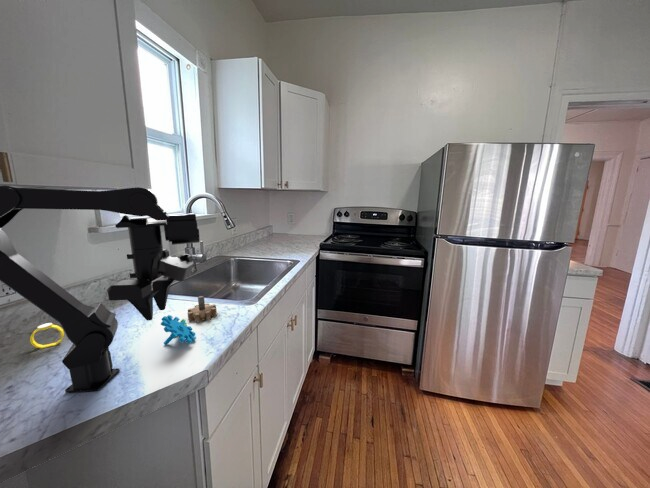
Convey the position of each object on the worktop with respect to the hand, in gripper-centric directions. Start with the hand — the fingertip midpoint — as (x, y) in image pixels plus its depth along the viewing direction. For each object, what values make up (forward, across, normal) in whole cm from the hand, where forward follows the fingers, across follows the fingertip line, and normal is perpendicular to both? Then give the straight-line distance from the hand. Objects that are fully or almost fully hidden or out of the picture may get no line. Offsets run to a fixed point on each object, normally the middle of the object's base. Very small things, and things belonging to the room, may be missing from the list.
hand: (156, 314), depth 60 cm
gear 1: (+12, +10, 0) cm, 16 cm away
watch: (+12, +10, +34) cm, 37 cm away
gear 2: (+12, +24, 0) cm, 27 cm away
